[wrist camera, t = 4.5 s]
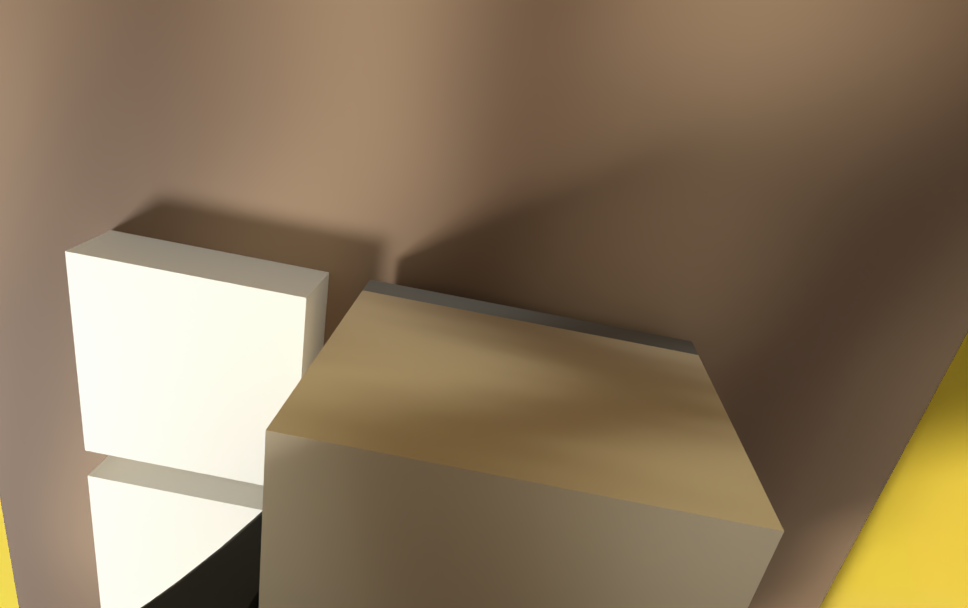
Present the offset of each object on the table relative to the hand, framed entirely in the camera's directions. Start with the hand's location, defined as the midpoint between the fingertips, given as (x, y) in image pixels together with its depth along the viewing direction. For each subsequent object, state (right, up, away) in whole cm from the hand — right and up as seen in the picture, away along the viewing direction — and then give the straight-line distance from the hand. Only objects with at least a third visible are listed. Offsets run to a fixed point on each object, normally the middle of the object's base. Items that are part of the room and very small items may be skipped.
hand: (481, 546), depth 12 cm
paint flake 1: (-5, +4, 0) cm, 6 cm away
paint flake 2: (-6, 0, +2) cm, 6 cm away
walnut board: (-1, +1, +3) cm, 3 cm away
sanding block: (0, 0, +1) cm, 1 cm away
